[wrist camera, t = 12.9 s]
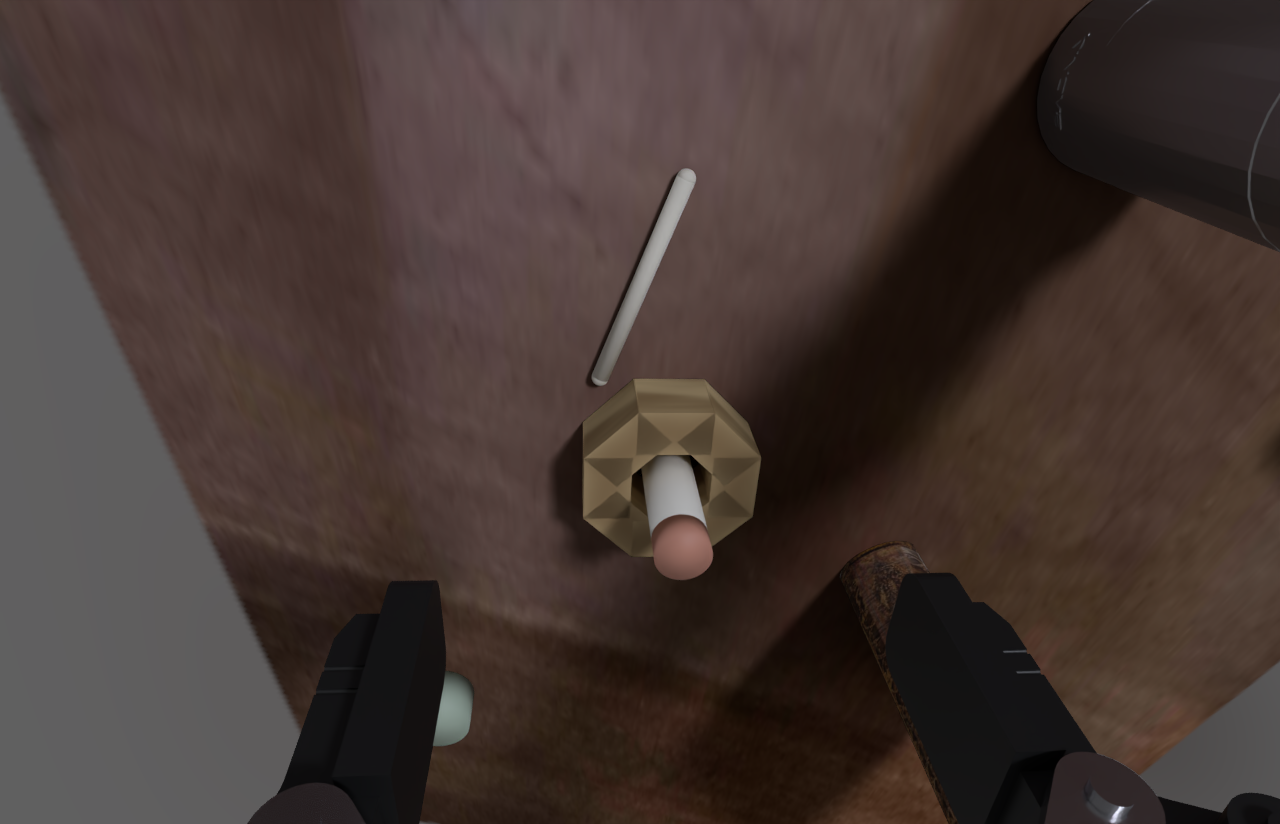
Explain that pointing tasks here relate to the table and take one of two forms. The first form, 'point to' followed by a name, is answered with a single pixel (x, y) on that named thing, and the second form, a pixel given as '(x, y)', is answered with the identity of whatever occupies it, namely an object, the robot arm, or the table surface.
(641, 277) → the thin white rod
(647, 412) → the bead
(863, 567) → the book
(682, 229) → the table surface
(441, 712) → the bead
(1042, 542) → the table surface
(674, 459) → the grey cylinder
